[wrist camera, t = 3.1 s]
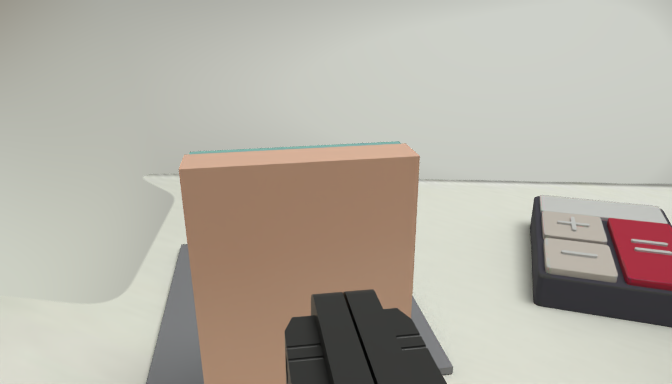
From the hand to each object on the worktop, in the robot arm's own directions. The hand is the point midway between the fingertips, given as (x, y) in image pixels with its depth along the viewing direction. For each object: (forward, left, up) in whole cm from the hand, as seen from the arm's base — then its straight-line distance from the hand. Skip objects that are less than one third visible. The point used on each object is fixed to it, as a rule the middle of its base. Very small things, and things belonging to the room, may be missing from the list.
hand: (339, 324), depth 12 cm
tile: (+9, -7, -14) cm, 18 cm away
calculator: (+1, -35, -15) cm, 38 cm away
